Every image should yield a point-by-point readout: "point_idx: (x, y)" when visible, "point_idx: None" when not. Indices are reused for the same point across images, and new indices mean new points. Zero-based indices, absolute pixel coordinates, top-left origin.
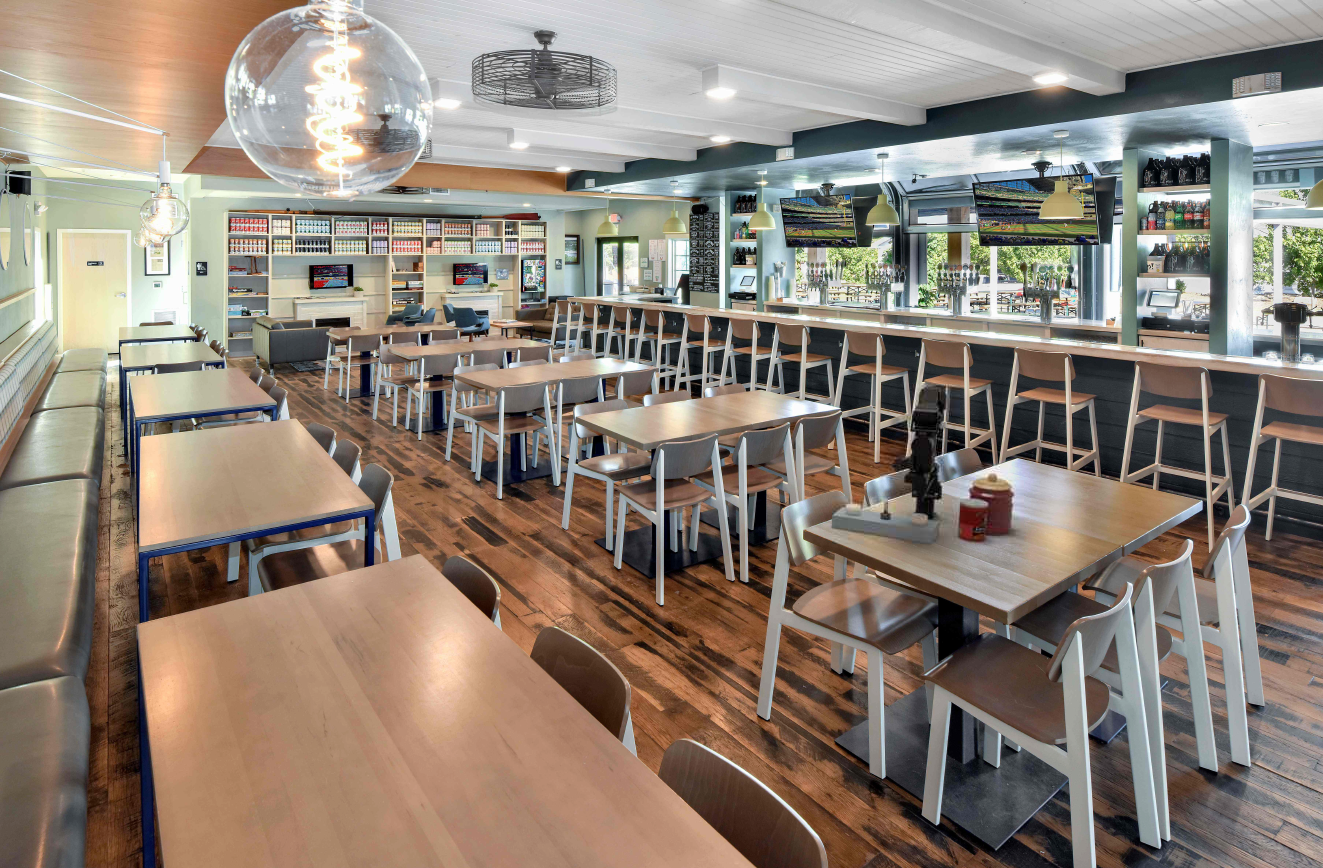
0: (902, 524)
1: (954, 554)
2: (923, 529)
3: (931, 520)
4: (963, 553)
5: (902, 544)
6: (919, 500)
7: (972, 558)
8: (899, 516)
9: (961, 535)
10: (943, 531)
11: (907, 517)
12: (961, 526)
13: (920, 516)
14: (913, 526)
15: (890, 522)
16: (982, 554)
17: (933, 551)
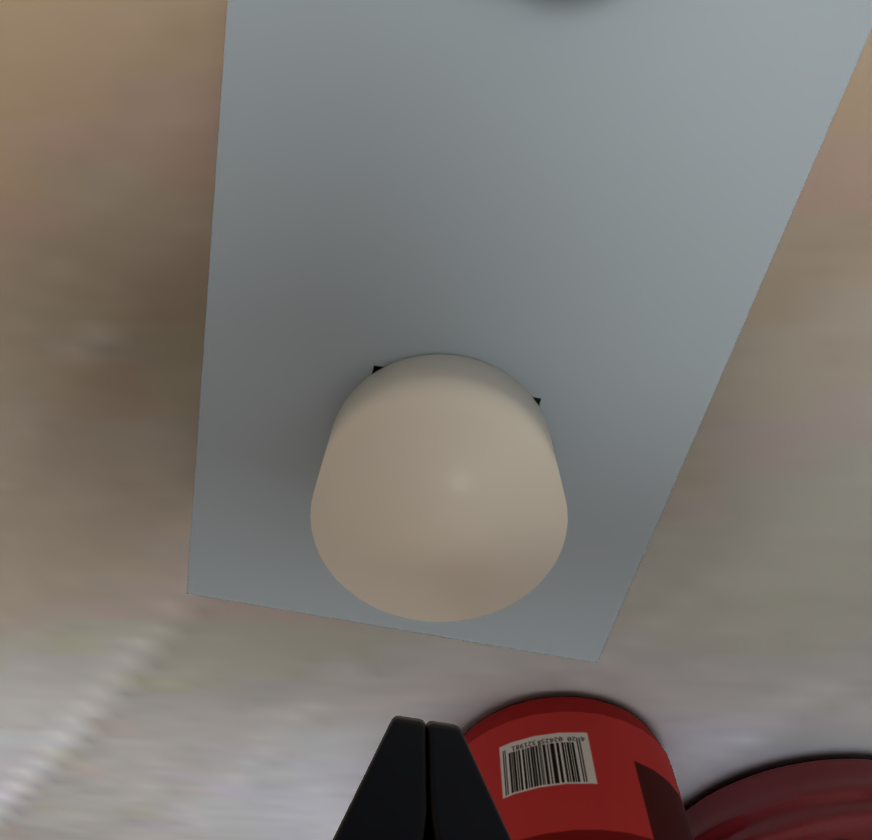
0: (304, 232)
1: (40, 652)
2: (193, 505)
3: (626, 588)
4: (106, 705)
5: (59, 206)
6: (385, 743)
7: (23, 748)
8: (753, 167)
9: (490, 734)
10: (681, 595)
11: (713, 299)
12: (502, 809)
13: (389, 538)
14: (268, 389)
15: (341, 11)
16: (157, 801)
17: (15, 509)
